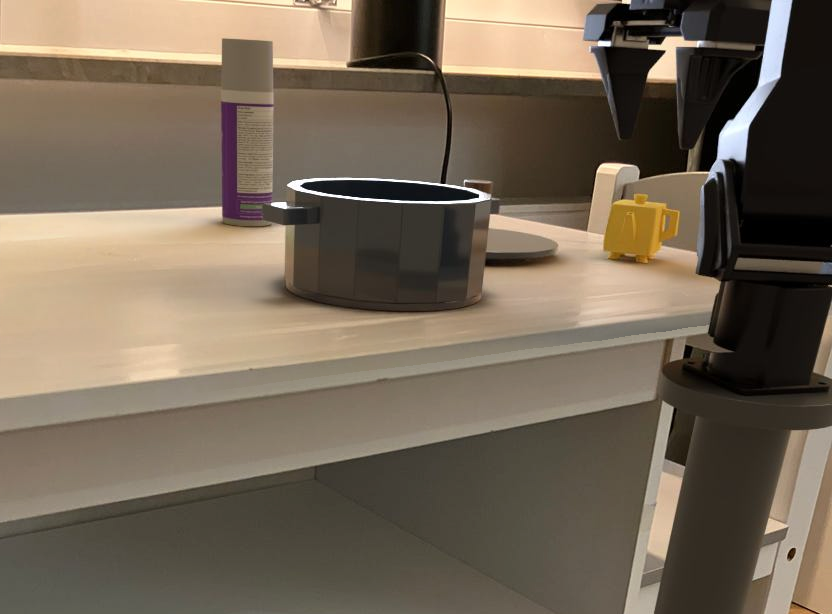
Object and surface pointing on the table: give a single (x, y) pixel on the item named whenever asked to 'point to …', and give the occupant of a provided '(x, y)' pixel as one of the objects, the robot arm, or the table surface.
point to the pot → (384, 242)
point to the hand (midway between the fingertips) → (654, 144)
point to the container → (246, 130)
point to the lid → (511, 238)
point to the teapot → (638, 228)
